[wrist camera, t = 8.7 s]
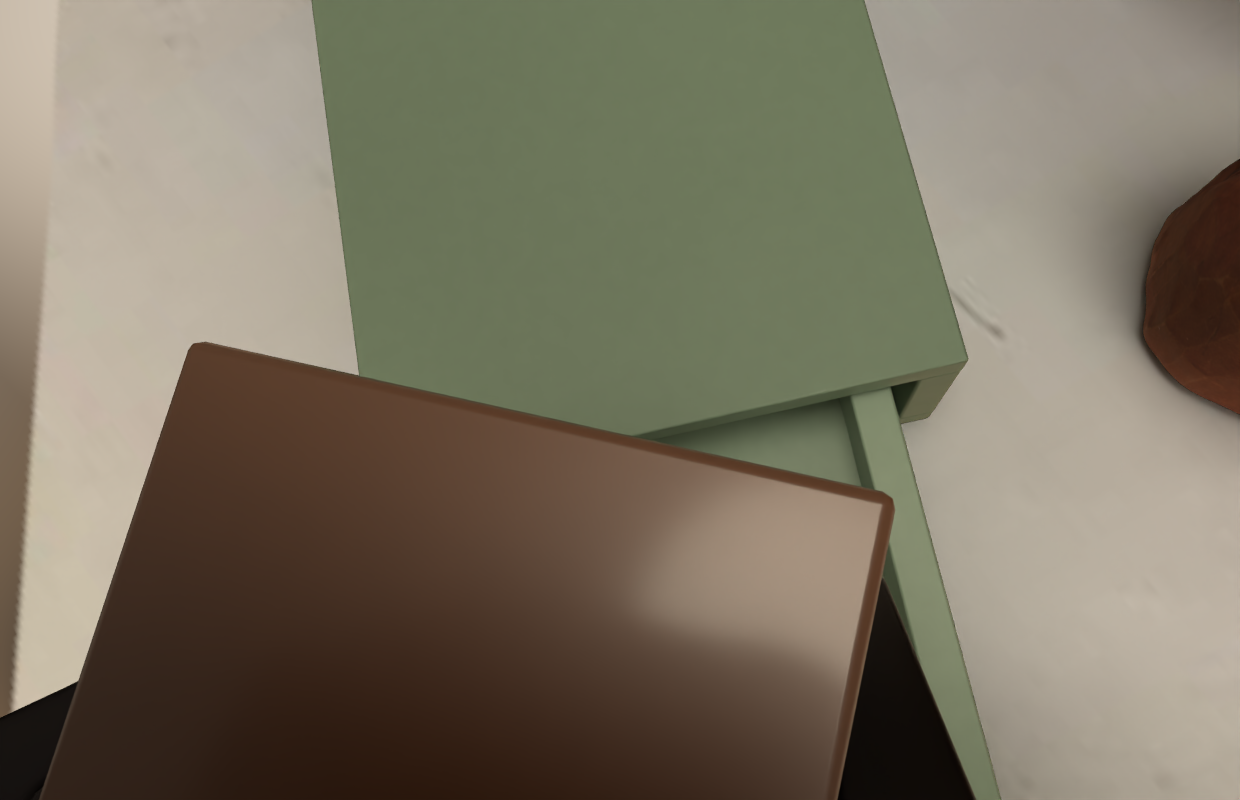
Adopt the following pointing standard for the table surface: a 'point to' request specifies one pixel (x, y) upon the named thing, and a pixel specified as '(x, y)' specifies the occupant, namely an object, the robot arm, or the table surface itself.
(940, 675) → the drawer
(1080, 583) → the table surface
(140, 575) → the walnut block
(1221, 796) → the table surface
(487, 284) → the cabinet
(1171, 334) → the wooden figurine
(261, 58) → the table surface
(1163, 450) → the table surface
